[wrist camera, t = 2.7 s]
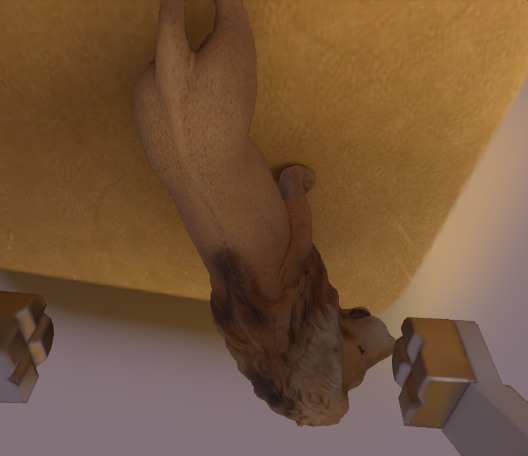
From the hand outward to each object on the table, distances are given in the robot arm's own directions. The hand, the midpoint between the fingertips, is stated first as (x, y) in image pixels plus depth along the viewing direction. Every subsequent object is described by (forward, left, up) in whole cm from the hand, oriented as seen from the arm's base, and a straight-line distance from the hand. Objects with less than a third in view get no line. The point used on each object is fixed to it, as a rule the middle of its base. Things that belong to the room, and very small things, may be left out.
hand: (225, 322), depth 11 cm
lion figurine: (0, 0, -9) cm, 9 cm away
